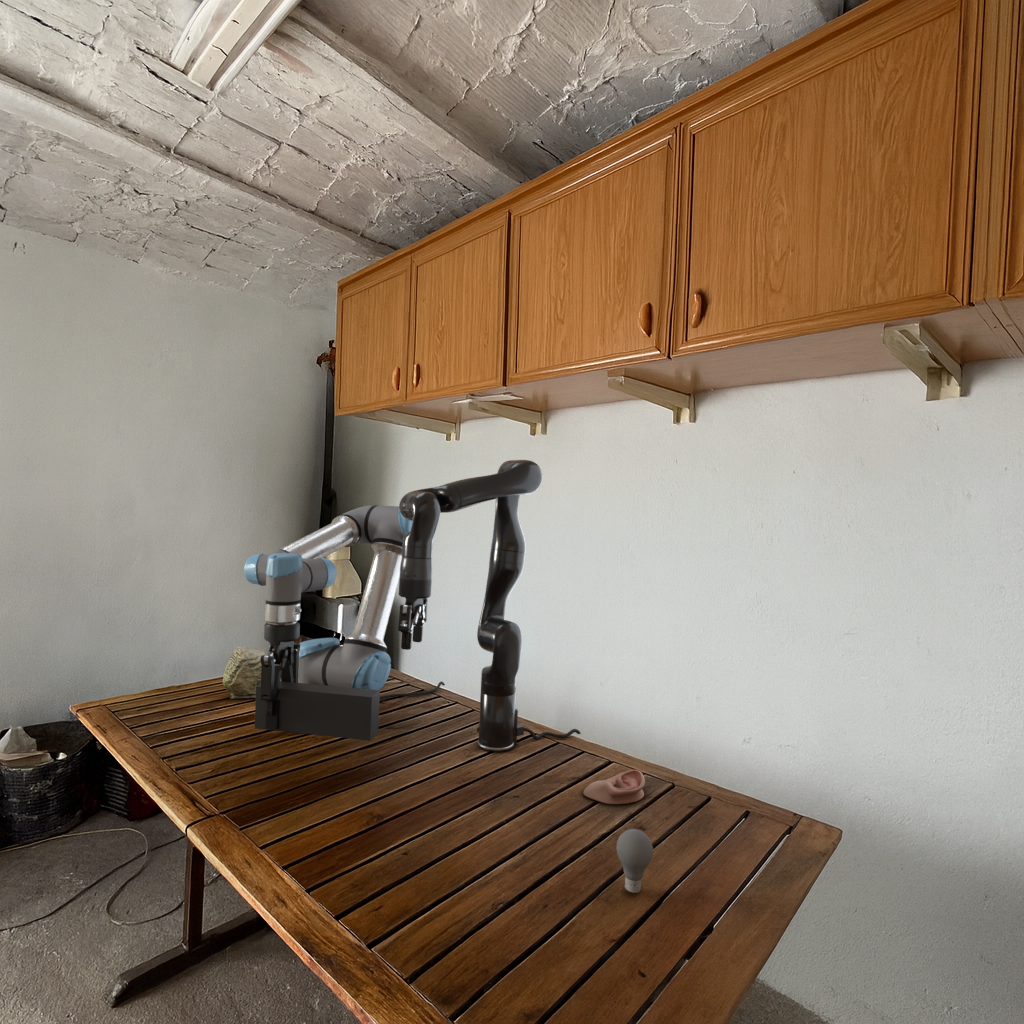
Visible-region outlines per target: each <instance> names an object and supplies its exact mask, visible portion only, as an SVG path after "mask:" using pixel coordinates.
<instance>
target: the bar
mask: <svg viewBox="0 0 1024 1024" xmlns="http://www.w3.org/2000/svg"><path fill="white" fill-rule="evenodd" d="M260 691H261V684H259V685H258V686H256V697H255V703H254V704H255V705H254V707H255V708H254V729H255V730H266V731H274V732H275V731H276V732H284V733H294V734H303V735H313V736H323V737H333V738H341V739H351V740H359V741H369V742H370V741H371V740H372V739H373V738H375V737H376V735H378V733H379V728H380V727H379V725H380V702H381V699H380V696H381V689H380V690H369V689H359V688H348V687H337V686H326V685H316V684H305V683H294V682H283V681H280V685H279V692H278V698H277V700H280V702H279V729H278V730H272V729H265V727H266V700H261V699H260Z"/></svg>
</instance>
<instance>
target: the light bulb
mask: <svg viewBox="0 0 1024 1024" xmlns="http://www.w3.org/2000/svg"><path fill="white" fill-rule="evenodd" d="M615 849H616V854H617V857H618V859H619V861H620V863H621V865H622V867H623V873H624V874H623V875H624V876H625V878H624V888H625V890H627V891H628V892H630V893H634V894H635V893H639V892H640V891H641V889H642V887H641V886H642V879H643V877H644V875H645V871H646V868H647V867H648V866H649V864H650V863H651V861H652V859H653V855H654V847H653V843H652V841H651V838H649V836H648V835H647V834H646V833H645V832H643V831H642V830H641V829H636V828H629V829H627V830H625V831H623V832H622V833H621V834H620V835H619V837H618V839H617V841H616V847H615Z"/></svg>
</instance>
